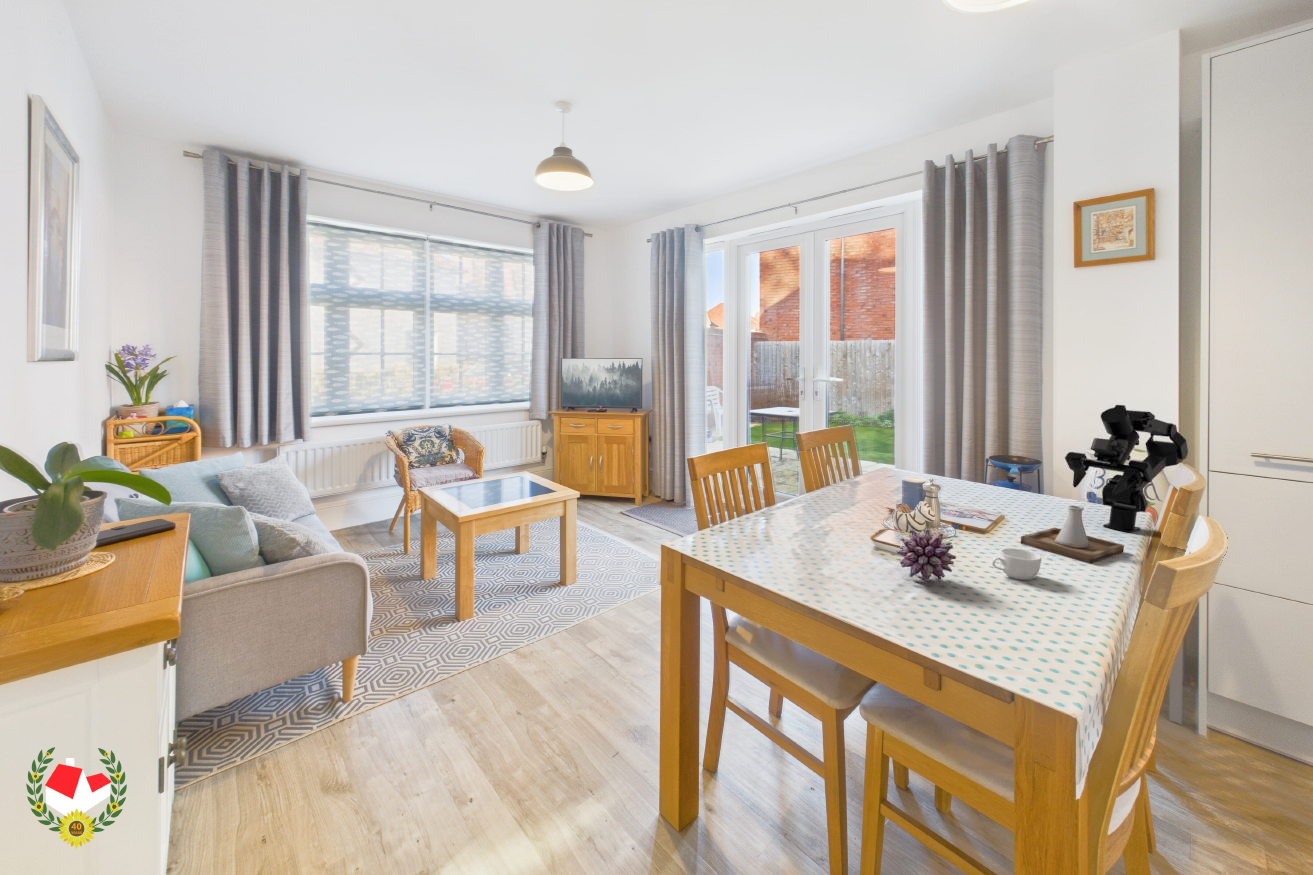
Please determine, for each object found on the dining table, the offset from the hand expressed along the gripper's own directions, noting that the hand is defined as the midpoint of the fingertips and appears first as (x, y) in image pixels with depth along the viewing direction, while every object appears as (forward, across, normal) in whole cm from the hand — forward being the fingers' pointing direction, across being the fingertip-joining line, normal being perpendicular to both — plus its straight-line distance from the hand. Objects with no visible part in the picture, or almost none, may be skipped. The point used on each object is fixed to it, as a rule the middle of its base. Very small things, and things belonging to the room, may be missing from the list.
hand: (1093, 490), depth 147 cm
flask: (+18, +2, 0) cm, 18 cm away
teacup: (+41, +6, -22) cm, 47 cm away
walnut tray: (+18, +2, +1) cm, 19 cm away
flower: (+55, -2, -36) cm, 66 cm away
